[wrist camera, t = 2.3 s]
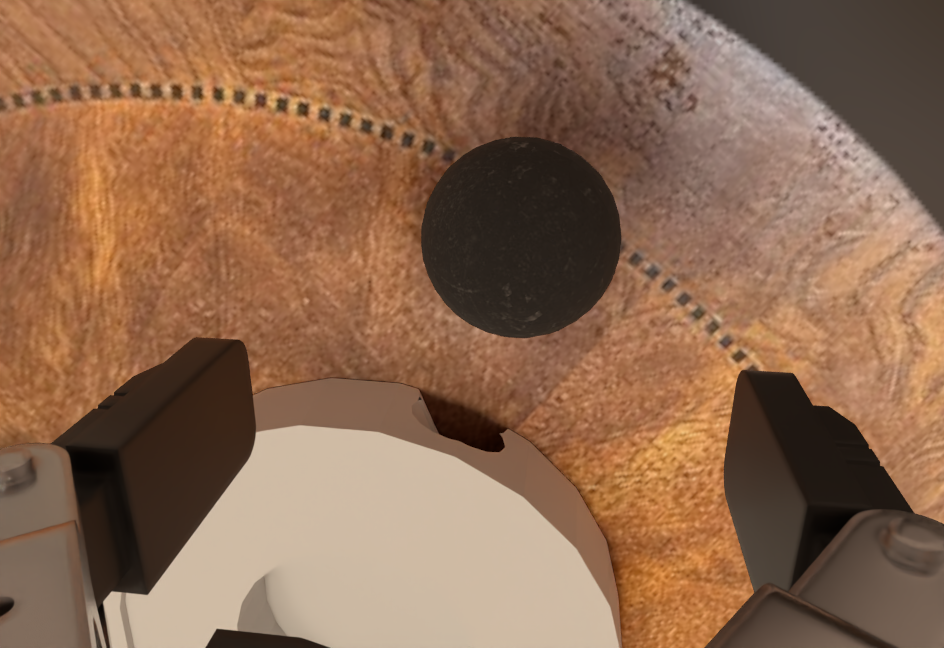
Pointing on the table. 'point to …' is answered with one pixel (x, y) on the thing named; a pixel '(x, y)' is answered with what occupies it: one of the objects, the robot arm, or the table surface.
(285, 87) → the table surface
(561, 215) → the light bulb
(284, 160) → the table surface
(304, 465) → the beige round base
